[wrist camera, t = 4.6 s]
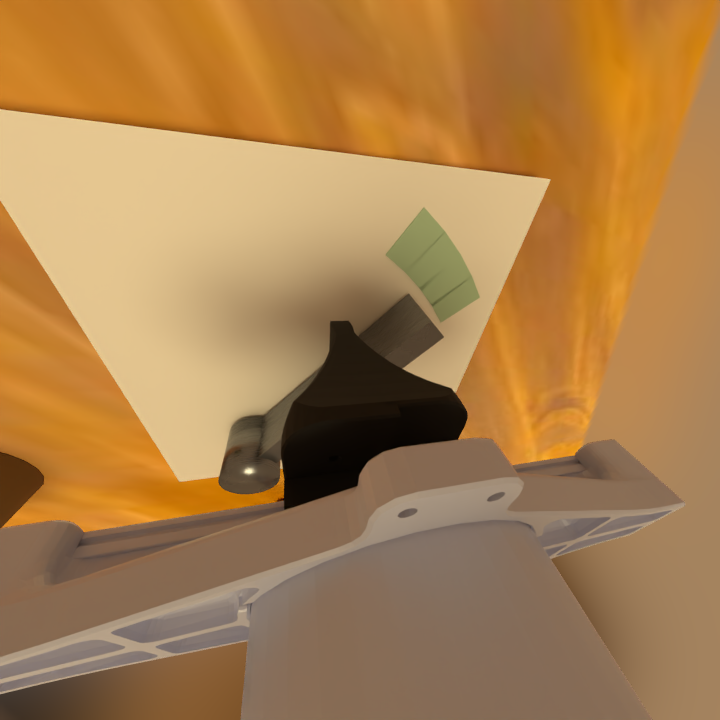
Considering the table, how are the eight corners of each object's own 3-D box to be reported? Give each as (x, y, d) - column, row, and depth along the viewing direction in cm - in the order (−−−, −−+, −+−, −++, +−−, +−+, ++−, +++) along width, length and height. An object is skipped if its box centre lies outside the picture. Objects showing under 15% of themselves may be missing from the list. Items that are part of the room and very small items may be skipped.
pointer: (261, 452, 18) (256, 498, 16) (219, 437, 17) (206, 486, 14) (429, 319, 14) (458, 354, 12) (397, 279, 12) (423, 310, 10)
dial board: (425, 440, 24) (430, 450, 23) (184, 468, 20) (179, 482, 19) (534, 177, 12) (552, 179, 11) (-28, 106, 8) (-67, 100, 7)
